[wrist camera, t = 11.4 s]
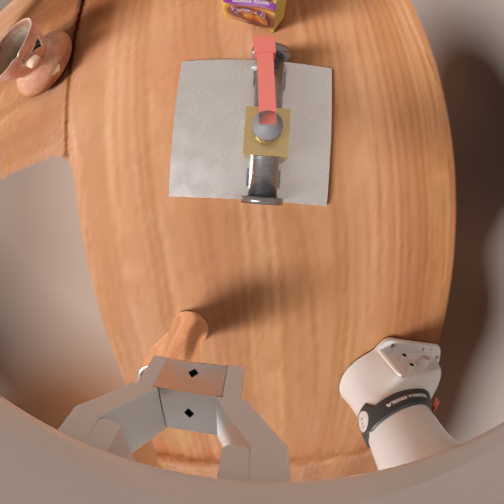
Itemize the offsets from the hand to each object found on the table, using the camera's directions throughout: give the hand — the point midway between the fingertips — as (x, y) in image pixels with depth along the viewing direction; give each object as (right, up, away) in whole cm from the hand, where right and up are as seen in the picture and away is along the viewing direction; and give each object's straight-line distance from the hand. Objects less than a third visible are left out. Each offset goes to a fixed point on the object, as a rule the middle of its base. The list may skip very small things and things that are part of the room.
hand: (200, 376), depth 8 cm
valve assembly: (+2, +22, +26) cm, 34 cm away
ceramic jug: (-38, +41, +23) cm, 60 cm away
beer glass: (-8, -8, +34) cm, 36 cm away
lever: (+3, +23, +18) cm, 29 cm away
